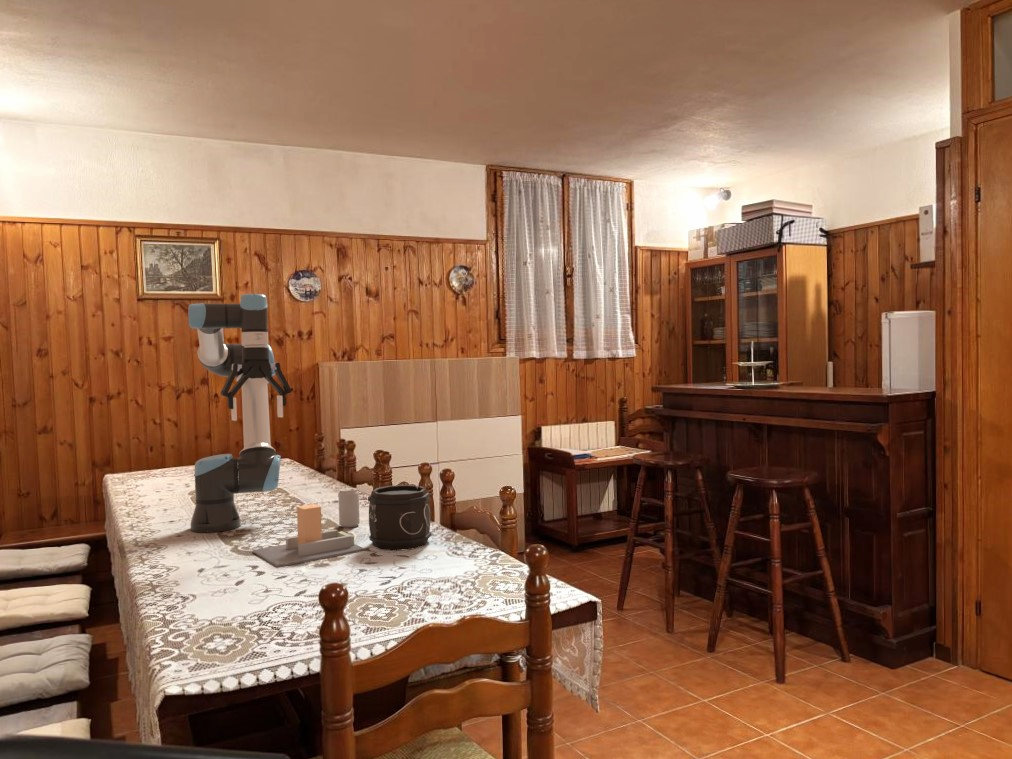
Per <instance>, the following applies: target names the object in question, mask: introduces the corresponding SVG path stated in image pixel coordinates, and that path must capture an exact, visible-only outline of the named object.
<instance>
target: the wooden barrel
mask: <svg viewBox="0 0 1012 759" xmlns="http://www.w3.org/2000/svg"><path fill="white" fill-rule="evenodd" d="M430 498H431V494H430V493H429V492H428V490H427V488H426V487H425V486H424V487H423V486H421V485H420V486H419V485H412V484H402V485H401V484H400V485H397V484H396V485H387V486H380V487H376V488H375V489H373V490H372V491H371V494H370V495H369V496H368V498H367V501H368V502H369V504H368V506H369V507H368V527H369V533H370V535H369V537H368V539H369V541H371V543H372V546H373V547H375V548H377V550H378V549H379V550H386V551H393V550H394V551H403V550H402V549H407V550H413V549H412V548H414V549H418V548H421V547H425V545H426V544H427V543H428V541H429V539H430V537H432V532H431V531H430V530H431V505H430Z"/></svg>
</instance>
